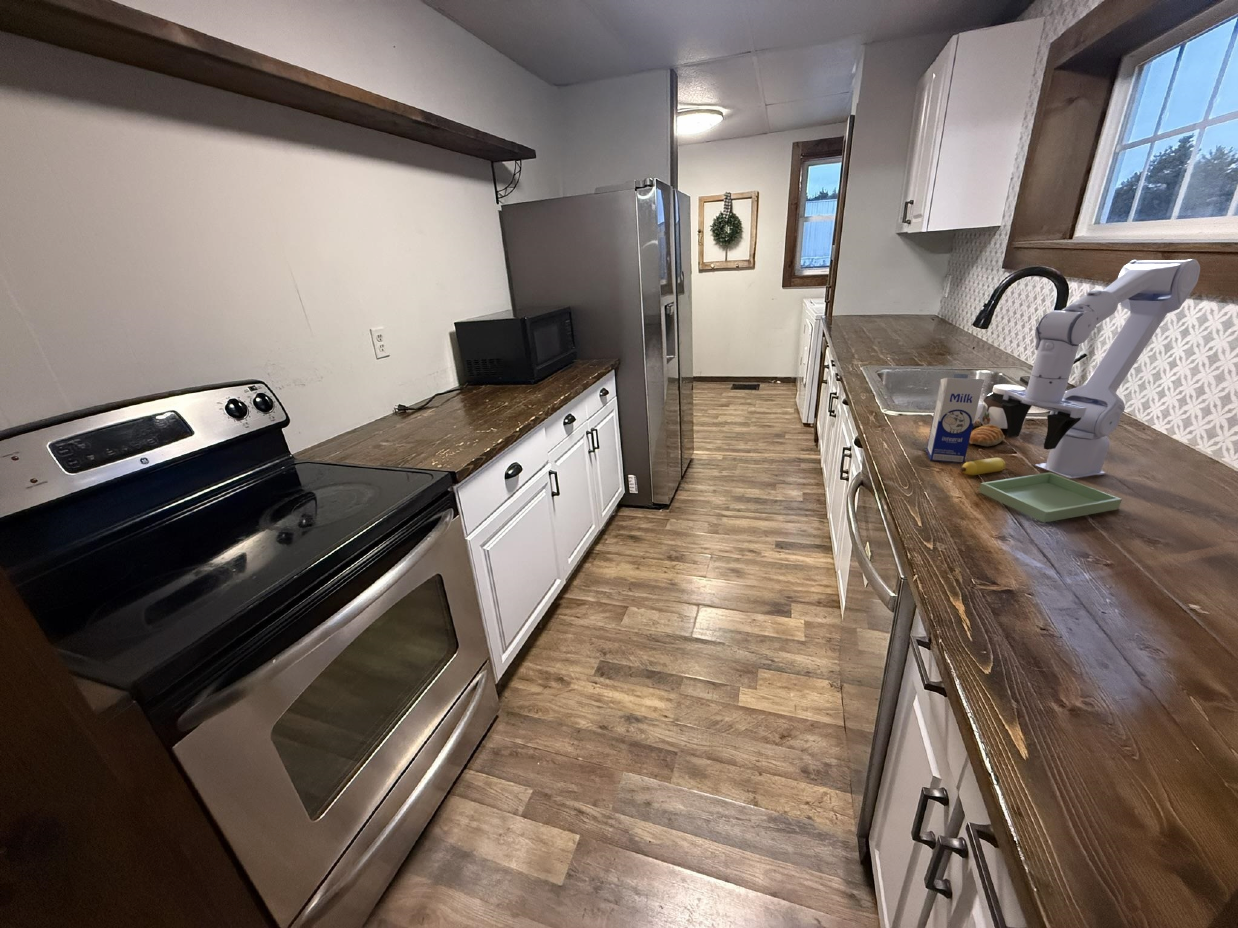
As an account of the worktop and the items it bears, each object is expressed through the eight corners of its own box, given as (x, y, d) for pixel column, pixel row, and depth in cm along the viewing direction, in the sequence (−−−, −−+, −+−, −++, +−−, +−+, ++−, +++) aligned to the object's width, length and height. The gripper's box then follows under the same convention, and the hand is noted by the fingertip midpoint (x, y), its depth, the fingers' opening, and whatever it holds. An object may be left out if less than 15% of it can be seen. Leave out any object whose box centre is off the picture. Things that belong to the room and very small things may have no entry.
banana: (996, 471, 112) (994, 457, 112) (1010, 470, 109) (1007, 456, 109) (956, 477, 110) (954, 463, 110) (969, 476, 107) (966, 462, 107)
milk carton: (929, 460, 118) (947, 377, 110) (925, 450, 123) (941, 370, 116) (964, 463, 115) (985, 378, 107) (958, 453, 121) (977, 372, 113)
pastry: (991, 450, 122) (995, 435, 120) (960, 444, 127) (963, 429, 125) (1004, 441, 127) (1008, 426, 125) (974, 435, 132) (977, 421, 130)
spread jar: (1026, 434, 130) (1039, 391, 126) (982, 436, 131) (993, 393, 126) (995, 420, 141) (1005, 380, 137) (954, 422, 142) (963, 382, 137)
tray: (1046, 483, 104) (1050, 471, 103) (1117, 511, 92) (1122, 499, 91) (978, 494, 101) (981, 482, 100) (1042, 525, 89) (1046, 512, 88)
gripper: (998, 370, 101) (982, 433, 106) (1072, 386, 88) (1050, 457, 93) (1026, 367, 103) (1009, 429, 108) (1104, 382, 89) (1080, 452, 95)
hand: (1030, 442), depth 101 cm, fingers open, 7 cm apart
